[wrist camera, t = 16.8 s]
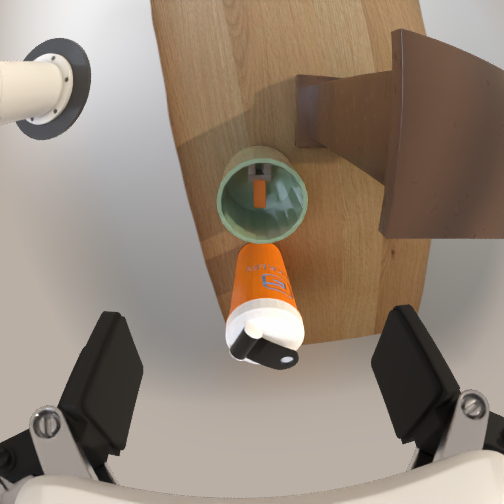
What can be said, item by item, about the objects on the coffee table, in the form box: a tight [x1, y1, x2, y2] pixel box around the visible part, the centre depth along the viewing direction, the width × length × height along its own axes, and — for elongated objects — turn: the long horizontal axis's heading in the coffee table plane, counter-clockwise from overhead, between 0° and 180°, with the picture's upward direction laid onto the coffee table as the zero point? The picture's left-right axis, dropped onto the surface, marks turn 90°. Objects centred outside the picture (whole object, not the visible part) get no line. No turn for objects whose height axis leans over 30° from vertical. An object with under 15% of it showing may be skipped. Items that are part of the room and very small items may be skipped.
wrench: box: [248, 163, 271, 208], centre depth 39 cm, size 6×3×3 cm, turn 1°
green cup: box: [217, 145, 308, 244], centre depth 36 cm, size 10×10×10 cm
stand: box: [295, 28, 504, 239], centre depth 23 cm, size 10×10×29 cm
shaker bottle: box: [226, 242, 305, 370], centre depth 38 cm, size 9×9×20 cm
